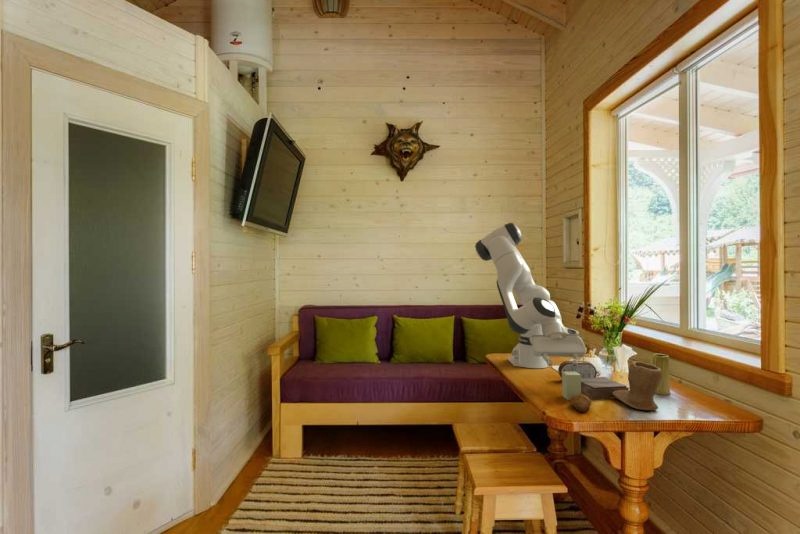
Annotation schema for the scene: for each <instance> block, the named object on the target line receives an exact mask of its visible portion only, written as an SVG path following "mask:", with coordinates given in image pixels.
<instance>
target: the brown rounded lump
mask: <svg viewBox="0 0 800 534" xmlns="http://www.w3.org/2000/svg"><path fill="white" fill-rule="evenodd" d="M569 401H570V402H571V404H572V406H573V407H574V408H575V410H576V411H577V412H579V413H580V414H584V413H587V411H588V410H589V409H590V406H591V405H592V404H593V403H592V401H591V398H590V397H588V396H586V395H584V394H582V393H581V394H577V395H573V396H572V398H571V400H569Z"/></svg>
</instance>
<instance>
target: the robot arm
mask: <svg viewBox="0 0 800 534" xmlns="http://www.w3.org/2000/svg"><path fill="white" fill-rule="evenodd" d="M522 238H523V237H522V231H521V229H520V228H519V227H518V226H517V225H516V224H514V223H513V222H508V223H505V224H504V225H502V226H501V227H497V228H496V229H494V230H493V231H491V232H490V233H488V234H487V235H485V236H484V237H483V238H481V239H479V240H478V241H477V242H476V243H475V245H474V248H475V252H476V254H477V256H478V257H479V258H480V259H481V260H482V261H486V262H487V261H492V262H493V264H494V266H495V268H496V273H497V279H496V288H497V290H498V294H499V296H500V299H501V302H502V305H503V308H504V310H505V315H506V318H507V320H506V321H507V324H508V327H509V328H510V329H511V331H513V332H514V333H516V334H519V337H518V343H517V344H516V346H514V347H513V349H512V350H511V357H508V358H507V361H509V363H510V364H512V366H514V367H519V368H520V367H521V368H526V369H545V368H549V366H550V367H551V366H552V365H553V362H552V361H553V360H552V359H549V357H550V358H551V357H552V358H556V357H557V358H572V359H573V360H571V361H572V366H577V365H578V363H577V361H578V358H584V356H585V355H586V354H587V348H586V344H585V343H584V340H583V339H582V338H581V337H580V336H579V335H580V334H579V331H578V329H577V330H576V329H572V328H570V327H566V326H564V324H563V322H562V321H563V319H562V315H561V312H560V310H559V308H558V306H557V304H556V302H554V301H553V300H551V294H550V292H549V291H548V289H547V288H545V287H544V286H542V285H538V284H536V283H535V280H534V279H533V275H532V273H531V269H530V267H529V266H528V264H527V262H526V260H525V259H524V257H523V255H522V254H521V252H520V251H519V249H518V248H517V247H516V246H519V244H520V243H521V241H522ZM515 245H516V246H515ZM513 291H514V292H513ZM513 293H514V294H515V296H516V299H517V301H518V302H519V303H520V304H521V305H522V306H520V307H518V305H517V302H516V299H515V297H514V294H513Z"/></svg>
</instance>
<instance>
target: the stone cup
mask: <svg viewBox="0 0 800 534" xmlns="http://www.w3.org/2000/svg"><path fill="white" fill-rule="evenodd" d="M627 373H628V374H627V375H628V376H627V377H628V386H629V387H628V388H629V391H628V390H617V391H614V392H613V393H612V394H613V395H614V396H615V397H617V398H616V399H618V400H619V401H621V402H622V403H624V404H625V405H627V406H628V407H631V408H633V409H636V410H640V411H642V410H643V411H656V410H658V409H659V406H658V404H656V403H655V401H654V396H655V394H656V393H655V391H656V389H657V387H658V385H659V383H660V381H661V378H662V371H661V369H660V368H658V367H656V366H653V364H650V363H646V362H642V361H638V360H637V361H635V360H634V361H632V362H631V363H630V364H629V367H628V372H627Z"/></svg>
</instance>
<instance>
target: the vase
mask: <svg viewBox="0 0 800 534" xmlns="http://www.w3.org/2000/svg"><path fill="white" fill-rule="evenodd" d="M652 365H653V366H656V367H658V368H660V369H661V371H662V378H661V381H660V383H659V385H658V387H657V389H656V391H655V393H654V394H657V395H662V396H663V395H664V396H667V395H671V389H670V388H671V385H670V356H669V355H668V354H665V353H664V354H663V353H654V354H652Z"/></svg>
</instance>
